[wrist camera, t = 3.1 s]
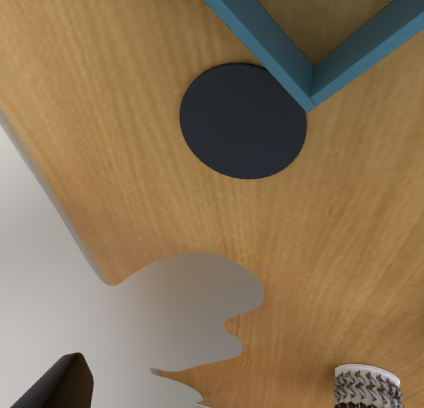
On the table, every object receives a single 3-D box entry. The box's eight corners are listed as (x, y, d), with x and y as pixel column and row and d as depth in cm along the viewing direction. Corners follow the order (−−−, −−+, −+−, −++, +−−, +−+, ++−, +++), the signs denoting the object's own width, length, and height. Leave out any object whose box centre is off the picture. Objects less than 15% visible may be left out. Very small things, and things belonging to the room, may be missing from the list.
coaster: (238, 28, 18) (237, 30, 18) (335, 134, 21) (335, 137, 21) (158, 121, 24) (157, 123, 24) (241, 193, 27) (241, 195, 27)
